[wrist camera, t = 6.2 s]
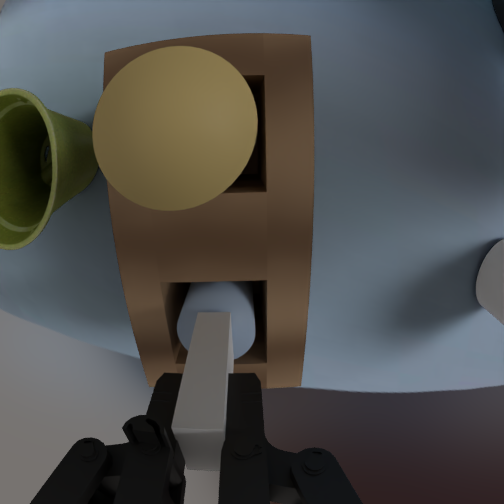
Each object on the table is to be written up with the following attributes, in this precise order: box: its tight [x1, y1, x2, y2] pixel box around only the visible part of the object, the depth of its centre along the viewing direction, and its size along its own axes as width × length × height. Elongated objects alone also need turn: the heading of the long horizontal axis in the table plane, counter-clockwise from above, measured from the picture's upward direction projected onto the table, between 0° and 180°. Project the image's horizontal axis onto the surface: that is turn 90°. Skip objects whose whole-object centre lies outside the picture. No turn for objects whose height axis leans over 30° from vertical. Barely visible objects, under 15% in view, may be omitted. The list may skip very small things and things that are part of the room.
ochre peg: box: [92, 46, 258, 211], centre depth 10 cm, size 4×4×8 cm
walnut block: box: [103, 33, 314, 389], centre depth 17 cm, size 18×9×9 cm, turn 1°
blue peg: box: [177, 281, 255, 359], centre depth 18 cm, size 4×4×8 cm
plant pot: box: [0, 88, 99, 250], centre depth 16 cm, size 9×9×9 cm
